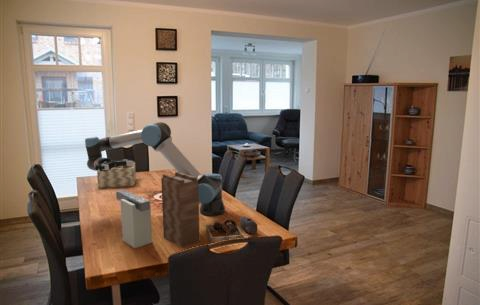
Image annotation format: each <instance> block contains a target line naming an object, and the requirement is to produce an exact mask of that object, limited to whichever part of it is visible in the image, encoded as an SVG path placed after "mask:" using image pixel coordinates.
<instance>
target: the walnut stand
mask: <svg viewBox="0 0 480 305" xmlns="http://www.w3.org/2000/svg"><path fill="white" fill-rule="evenodd" d="M160 181H161V182H160V183H161V203H162V204H161V206H162V228H163V238H165V239H166V240H168V241H170V242H171V243H174V244H176V245H177V246H179V247H181V248H184V247H186V246H187V247H188V246H189V245H192V244H195V243H198V242H200V240H201V239H200V203H199V193H198V180H197V177H194V176H190V175H187V174H183V173H180V172H177V171H175V172H174V174H173V175H169V174H167V173H166V174H162V177H161V180H160Z"/></svg>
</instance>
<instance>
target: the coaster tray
mask: <svg viewBox="0 0 480 305" xmlns="http://www.w3.org/2000/svg"><path fill="white" fill-rule="evenodd" d="M213 225H214V224H207V225H205V230H206V234H207V237H208V239H209V242H210V244H211V243H215V242H219V241H223V240H229V239H237V238H243V239H244V234H243V232H242V230H241V229H240V228H239V225H237V231H236V232H235V233H236V234H232V235H230V236H226V235H225V236H224V235H223V236H214V237H213V236H212V232H214V231H215V232H217V231H216V230H215V229H214V228H213ZM226 226H229V228H228V230H230V229H234V228H235V225H234V224H232V223H231V222H229V223H227V224H226ZM216 227H217V228H218V226H216ZM222 231H225V230H224V229H223V230H222Z"/></svg>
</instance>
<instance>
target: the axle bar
mask: <svg viewBox="0 0 480 305" xmlns="http://www.w3.org/2000/svg"><path fill="white" fill-rule="evenodd" d="M115 192H116V193H115V196H116V198H115V199H116V200H118V201H120V200H121V199H125V200H127V201H129V202H131V203H133V204H135V208H136V209H138V210H140V211H146V210H150V206H151V201H150V200H149V201H148V199H146V198H144V197H142V196H140V197H139V195H136V194H134V193H132V192H130V191H127V190H125V189H120V190H117V191H115ZM141 197H142V198H141Z"/></svg>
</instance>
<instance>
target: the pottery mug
mask: <svg viewBox="0 0 480 305" xmlns="http://www.w3.org/2000/svg"><path fill="white" fill-rule="evenodd" d="M227 223H232V224H234V225H235V228H234V229H228V228H229V226H226V224H227ZM212 225H213V228H214V229H215V230H216V231H215V232H217V233H218V234H220V232H221V231H225V233H226V234H225V236H233V235H235V234H236V233H237V232H236V231H237V226H238V224H237V223H236V221H235V220H233V219H230V218H228V219H224V220H223V221H222V222H214V224H212ZM216 226H218V228H217V227H216ZM223 229H224V230H223Z"/></svg>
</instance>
